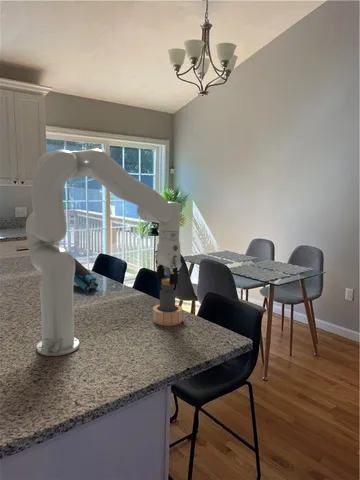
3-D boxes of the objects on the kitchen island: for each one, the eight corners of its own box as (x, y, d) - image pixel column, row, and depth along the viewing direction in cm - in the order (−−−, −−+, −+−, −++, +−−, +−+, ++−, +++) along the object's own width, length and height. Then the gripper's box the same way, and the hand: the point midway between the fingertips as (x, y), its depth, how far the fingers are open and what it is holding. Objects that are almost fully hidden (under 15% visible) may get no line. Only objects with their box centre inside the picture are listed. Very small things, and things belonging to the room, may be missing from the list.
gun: (82, 304, 175) (86, 276, 171) (55, 280, 192) (58, 253, 187) (96, 301, 181) (101, 274, 176) (69, 277, 197) (72, 251, 192)
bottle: (156, 318, 140) (156, 279, 138) (167, 314, 144) (168, 277, 142) (166, 322, 136) (167, 282, 134) (178, 318, 140) (179, 280, 138)
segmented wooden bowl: (182, 326, 135) (183, 313, 135) (152, 325, 135) (152, 313, 134) (181, 315, 146) (181, 303, 145) (153, 315, 146) (153, 303, 145)
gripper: (190, 238, 130) (187, 285, 133) (165, 232, 145) (163, 275, 147) (172, 238, 126) (169, 287, 129) (148, 232, 141) (146, 276, 143)
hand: (166, 281), depth 138 cm, fingers open, 9 cm apart
